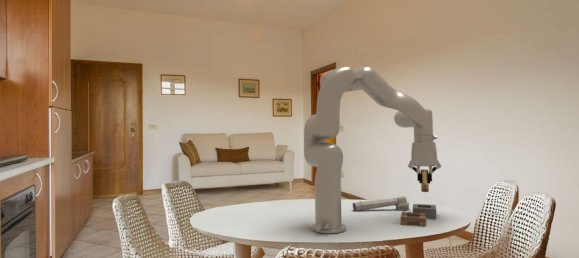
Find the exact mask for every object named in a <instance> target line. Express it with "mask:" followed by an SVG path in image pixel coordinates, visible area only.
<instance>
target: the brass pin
mask: <svg viewBox="0 0 579 258" xmlns="http://www.w3.org/2000/svg"><path fill="white" fill-rule="evenodd" d="M420 173H421V183H420V189H421V192H422V193H429V192H430V184H429V183H428V173H429V169H424V168H423V169H420Z"/></svg>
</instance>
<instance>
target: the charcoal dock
mask: <svg viewBox="0 0 579 258" xmlns="http://www.w3.org/2000/svg"><path fill="white" fill-rule="evenodd" d="M436 206H437V205H436V204H428V203H427V204H425V203H424V204H422V203H413V204H412V212H413V213H426V220H437V207H436Z"/></svg>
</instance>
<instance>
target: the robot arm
mask: <svg viewBox="0 0 579 258" xmlns="http://www.w3.org/2000/svg"><path fill="white" fill-rule="evenodd" d="M319 83H320V89H319V90H318V95H317V98H316V110H315V111H316V112H315V114H312V115H310V116H309V117H308V118H307V120H306V121H305V123H304V128H303V129H304V130H303V154H304V156H303V157H304V159H305V162H306V163H307V164H308V165H310V166H311V167H314V168H316V171H315V175H314V209H315V211H314V212H315V213H314V215H315V217H314V218H315V221H314V222H315V223H313V224H311V225H310V227H311V228H310V229H311V230H312V231H313V232H316V233H319V234H339V233H343V232H345V231H346V229H347V226H346V224H343V223H342V168H343V162H344V154H343V151H342V148H341V147H340V146H338V145H337V144H336V143H333V142H327V140H331V139H334V138H336V137H337V136H338V135H339V133H340V130H341V129H340V128H341V127H340V126H341V123H340V122H341V121H340V120H341V115H340V114H341V112H340V111H341V100H342V97H343V96H344V93H347V92H355V91H360V90H362V91H364V93H366V94H367V95H368V97H370V98H371V99H372V100H373V101H374V102H375V103H376V104H377V105H378V106H381V107H384V108H388V109H392V110H396V111H397V112H396V113H395V115H394V117H393V118H394V119H393V121H394V123H395V124H396V125H397V126H398V127H400V128H413V142H411V151H410V155H411V156H410V158H411V159H410V161H409V163H408V165H407V168H409V169H411V170H413V171H414V172H415V173H416V174H417V182H419V184H421V167H428V183H429V185H430V184H431V182H433V173H434V172H436V170H439V169H440V168H442V165H441V163H440V161H439V160H438V153H437V151H438V150H437V145H436V142H435V141H434V140H438V136H437V135H434V121H433V111H432V110H431V109H427V108H424V106H423V105H422V104H421V103H420V102H419V101H418V100H416V99H415V98H413V97H412V96H410V95H408V94H406V93H403V92H402V91H400V90H398V89H396V88H394V87H393V86H392V85H391V84H390V83H389V82H387V80H386V79H385V78H383V77H382V76H381V75H380V74H379V72H377V71H376V70H375V68H373V67H371V66H363V67H359V68H358V67H357V68H351V67H349V66H340V67H337V68H334V69H332V70H328V71H326V72H325V73H323V74H322V76H321V77H320V80H319Z"/></svg>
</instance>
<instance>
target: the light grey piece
mask: <svg viewBox="0 0 579 258" xmlns="http://www.w3.org/2000/svg"><path fill="white" fill-rule="evenodd" d="M409 205H410V202H409V201H408V200H407V198H406V196H403V195H401V196H397V197H395V198H383V199H375V200H365V201H364V200H363V201H361V200H359V201H357V202H352V210H353V211H354V212H364V211H367V210H374V209H379V208H384V207H385V208H387V207H391V206H394V207H395V210H397V211H399V212H400V211H402V212H406V211H407V210H410V206H409Z"/></svg>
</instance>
